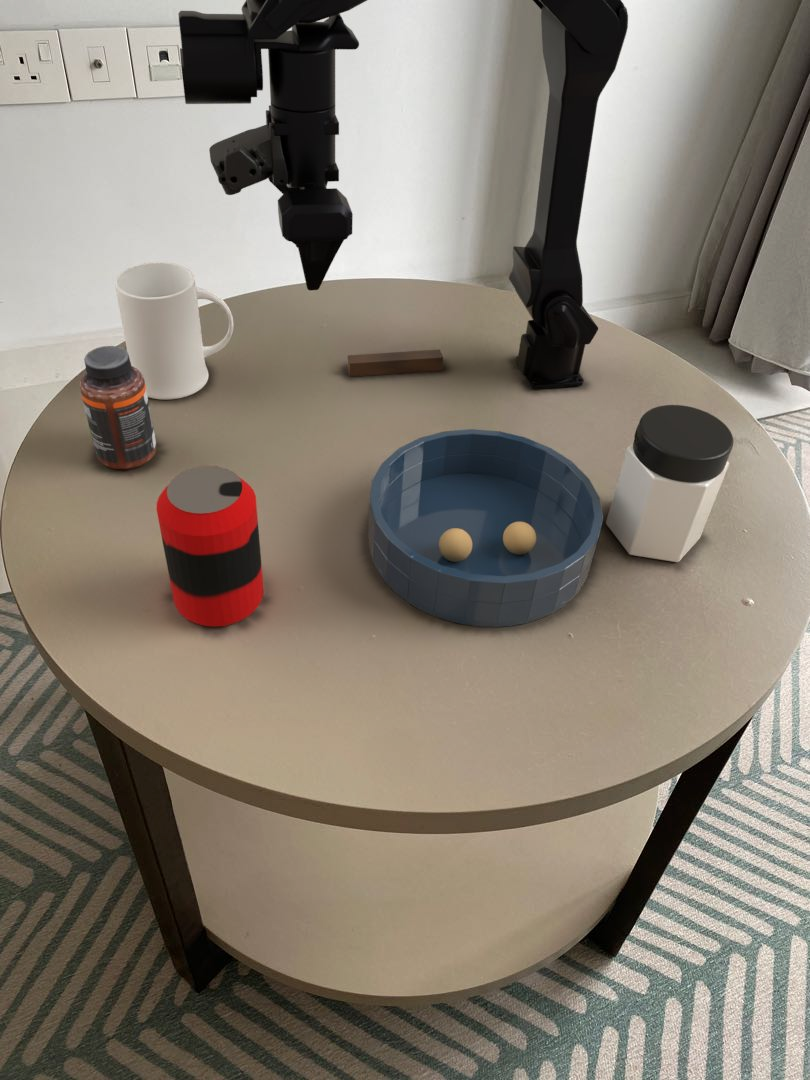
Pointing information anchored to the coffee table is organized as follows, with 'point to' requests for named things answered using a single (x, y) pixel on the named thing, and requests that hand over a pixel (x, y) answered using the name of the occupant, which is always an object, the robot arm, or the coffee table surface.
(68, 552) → the coffee table surface
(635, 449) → the jar
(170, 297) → the mug
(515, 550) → the cork ball
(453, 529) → the cork ball
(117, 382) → the supplement bottle
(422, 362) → the stick
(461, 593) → the bowl
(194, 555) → the soda can
